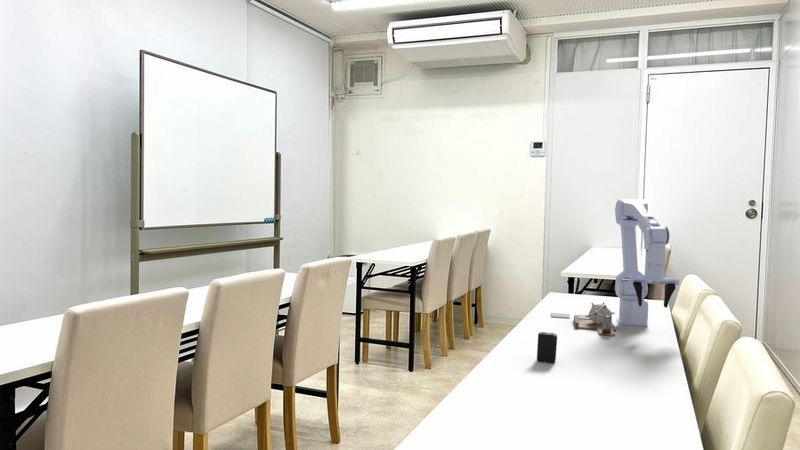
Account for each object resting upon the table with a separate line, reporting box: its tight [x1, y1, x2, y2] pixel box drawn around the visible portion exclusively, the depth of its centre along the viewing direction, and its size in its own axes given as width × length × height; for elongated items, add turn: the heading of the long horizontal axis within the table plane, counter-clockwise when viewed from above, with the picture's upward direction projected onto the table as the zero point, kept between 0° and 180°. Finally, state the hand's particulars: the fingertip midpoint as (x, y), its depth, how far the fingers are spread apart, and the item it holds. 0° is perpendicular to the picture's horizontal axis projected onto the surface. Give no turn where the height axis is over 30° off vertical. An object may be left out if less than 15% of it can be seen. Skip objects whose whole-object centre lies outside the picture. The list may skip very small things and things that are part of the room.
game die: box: [585, 302, 615, 325], centre depth 209 cm, size 9×8×10 cm
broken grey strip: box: [550, 312, 591, 320], centre depth 222 cm, size 16×6×1 cm, turn 77°
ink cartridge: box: [536, 331, 558, 365], centre depth 167 cm, size 5×2×8 cm, turn 69°
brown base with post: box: [573, 314, 617, 337], centre depth 205 cm, size 13×19×6 cm
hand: (652, 306), depth 194 cm, fingers open, 7 cm apart
